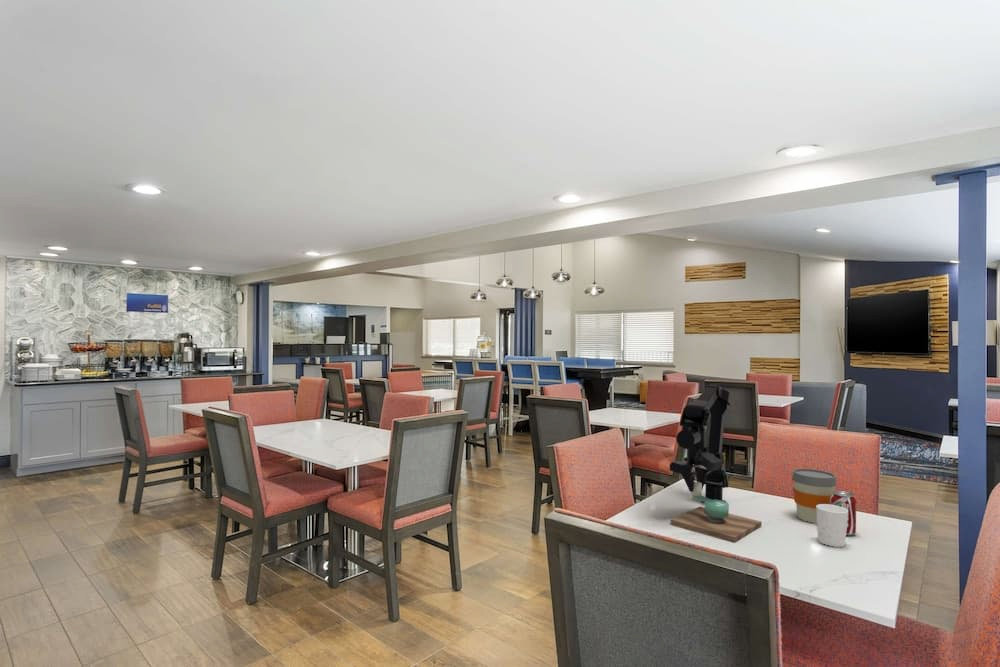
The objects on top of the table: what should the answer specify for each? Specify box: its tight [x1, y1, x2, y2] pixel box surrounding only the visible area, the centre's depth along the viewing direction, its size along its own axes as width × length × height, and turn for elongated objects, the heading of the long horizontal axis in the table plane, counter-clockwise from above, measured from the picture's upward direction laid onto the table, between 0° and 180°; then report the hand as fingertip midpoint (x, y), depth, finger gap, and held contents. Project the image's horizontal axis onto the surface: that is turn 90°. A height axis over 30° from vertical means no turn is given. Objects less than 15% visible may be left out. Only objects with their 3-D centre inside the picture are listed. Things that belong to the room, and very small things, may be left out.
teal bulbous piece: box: [691, 480, 730, 518], centre depth 175 cm, size 14×7×8 cm, turn 21°
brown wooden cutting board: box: [670, 505, 763, 543], centre depth 172 cm, size 20×20×3 cm
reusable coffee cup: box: [792, 468, 837, 524], centre depth 180 cm, size 13×13×15 cm
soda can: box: [830, 490, 857, 536], centre depth 168 cm, size 7×7×12 cm
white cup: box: [816, 504, 848, 548], centre depth 159 cm, size 8×8×10 cm
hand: (695, 490), depth 180 cm, fingers open, 4 cm apart
